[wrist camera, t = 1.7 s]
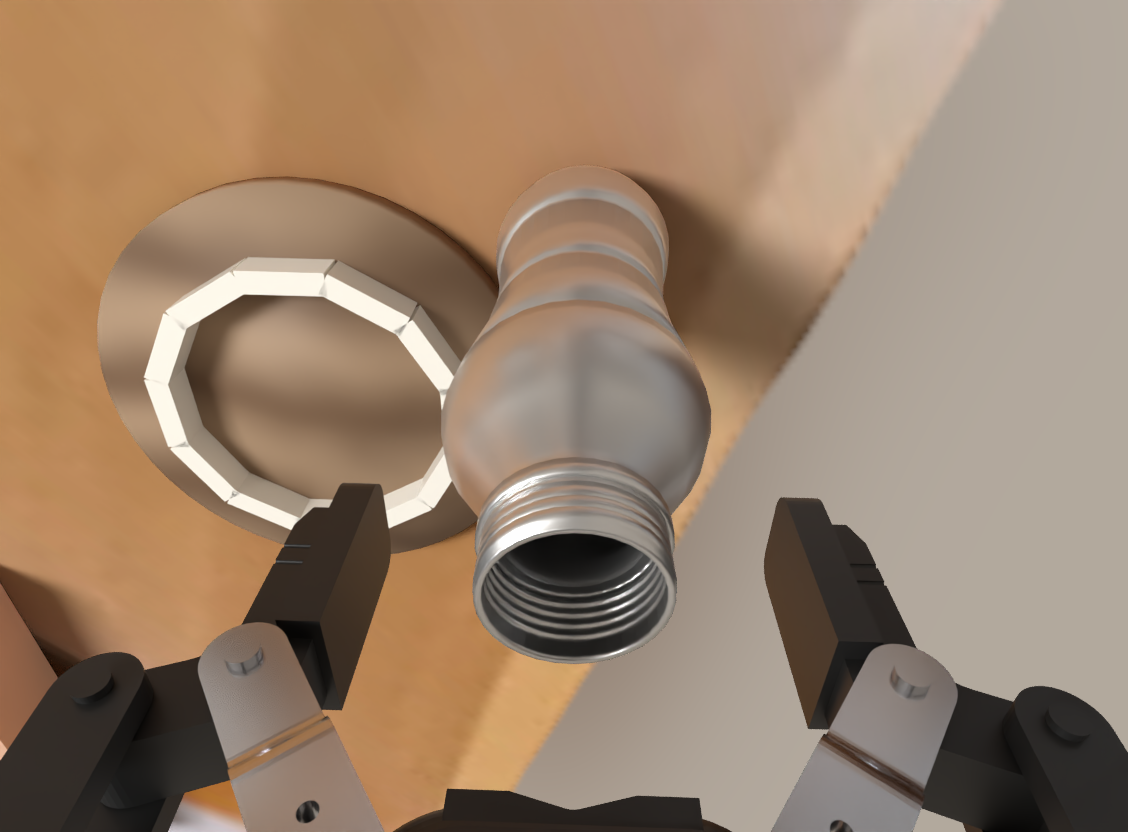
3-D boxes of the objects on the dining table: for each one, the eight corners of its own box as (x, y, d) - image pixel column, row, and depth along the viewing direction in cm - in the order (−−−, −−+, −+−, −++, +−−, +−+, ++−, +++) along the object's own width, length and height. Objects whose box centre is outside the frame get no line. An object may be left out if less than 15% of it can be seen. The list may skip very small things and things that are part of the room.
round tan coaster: (42, 170, 28) (22, 178, 27) (533, 182, 28) (532, 191, 27) (182, 535, 39) (171, 549, 38) (536, 546, 39) (534, 561, 38)
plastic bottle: (683, 270, 30) (806, 664, 13) (540, 325, 32) (488, 738, 15) (631, 123, 27) (705, 397, 10) (474, 192, 28) (314, 528, 12)
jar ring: (123, 253, 29) (103, 267, 28) (460, 262, 29) (454, 276, 28) (211, 510, 37) (198, 529, 35) (477, 518, 36) (473, 538, 35)
